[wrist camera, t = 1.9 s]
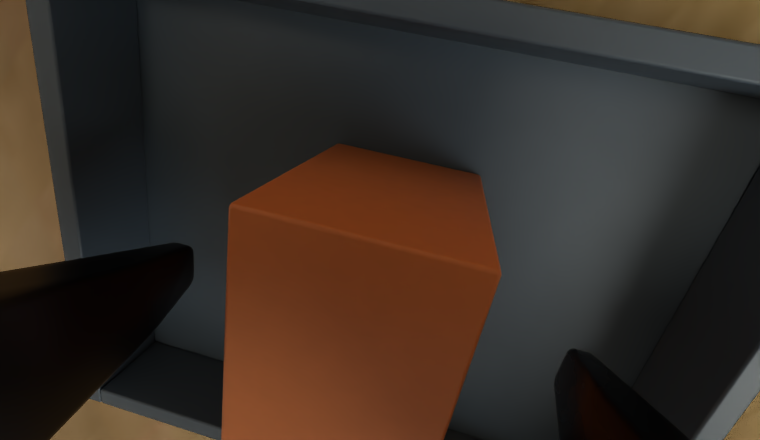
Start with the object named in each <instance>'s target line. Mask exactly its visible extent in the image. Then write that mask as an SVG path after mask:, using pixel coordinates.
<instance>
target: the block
mask: <svg viewBox="0 0 760 440" xmlns="http://www.w3.org/2000/svg"><path fill="white" fill-rule="evenodd" d="M501 275H502V274H501V268H500V263H499V259H498V254H497V250H496V245H495V241H494V236H493V231H492V227H491V222H490V218H489V213H488V209H487V204H486V199H485V195H484V190H483V186H482V181H481V177H480V175H477V174H473V173H469V172H464V171H460V170H455V169H451V168H446V167H442V166H437V165H433V164H428V163H424V162H420V161H415V160H411V159H406V158H402V157H397V156H393V155H388V154H384V153H380V152H375V151H371V150H366V149H362V148H357V147H353V146H348V145H344V144H336V145H334V146H333V147H331V148H329V149H327V150H325V151H324V152H322V153H320V154H318V155H316V156H315V157H313V158H311V159H309V160H307V161H306V162H304V163H302V164H300V165H298V166H297V167H295V168H293V169H291V170H289V171H288V172H286V173H284V174H282V175H280V176H279V177H277V178H275V179H273V180H272V181H270V182H268V183H266V184H264V185H263V186H261V187H259V188H257V189H255V190H254V191H252V192H250V193H248V194H246V195H245V196H243V197H241V198H239V199H237V200H236V201H234V202H232V203H231V204H230V206H229V214H228V245H227V276H226V307H225V337H224V368H223V399H222V429H221V440H444V438H445V435H446V432H447V429H448V426H449V423H450V421H451V418H452V415H453V412H454V409H455V406H456V403H457V401H458V398H459V395H460V392H461V389H462V386H463V384H464V381H465V378H466V375H467V372H468V369H469V366H470V364H471V361H472V358H473V355H474V352H475V349H476V346H477V344H478V341H479V338H480V335H481V332H482V329H483V326H484V324H485V321H486V318H487V315H488V312H489V309H490V307H491V304H492V301H493V298H494V295H495V292H496V289H497V287H498V284H499V281H500V278H501Z"/></svg>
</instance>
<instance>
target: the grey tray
mask: <svg viewBox="0 0 760 440" xmlns="http://www.w3.org/2000/svg"><path fill="white" fill-rule="evenodd" d="M26 7H27V13H28V20H29V26H30V33H31V39H32V46H33V53H34V59H35V66H36V72H37V79H38V86H39V92H40V99H41V105H42V112H43V119H44V125H45V132H46V138H47V145H48V152H49V158H50V165H51V171H52V178H53V184H54V191H55V198H56V204H57V211H58V217H59V224H60V231H61V237H62V244H63V250H64V257H65V261H68V260H74V259H79V258H85V257H91V256H97V255H103V254H109V253H115V252H121V251H127V250H132V249H138V248H144V247H150V246H156V245H162V244H168V243H174V242H176V243H181V244H184V245H188V246H191V247H192V249H193V251H194V278H193V281H192V283H191V285H190V287H189V288H188V289H187V290H186V292H185V293H184V294H183V295H182V297H181V298H180V299H179V300H178V302H177V303H176V304H175V305H174V307H173V308H172V309H171V310H170V312H169V313H168V314H167V315H166V317H165V318H164V319H163V321H162V322H161V323H160V324H159V326H158V327H157V328H156V329H155V330H154V331H153V333H152V334H151V335H150V336H149V337H148V338H147V339H146V340H145V341H144V342H143V343H142V345H141V346H140V347H139V348H138V349H137V350H136V351H135V352H134V353H133V354H132V355H131V356H130V357H129V358H128V359H127V360H126V361H125V362H124V363H123V364H122V365H121V366H120V367H119V368H118V369H117V370H116V371H115V372H114V373H113V374H112V375H111V377H110V378H109V379H108V380H107V381H106V382H105V383H104V384H103V385H102V386H101V387H100V388H99V389H98V390H97V391H96V392H95V393H94V394H93V395H92V396H91V397H90V398H89V399H92V400H95V401H98V402H103V403H105V404H108V405H111V406H114V407H117V408H121V409H124V410H127V411H130V412H133V413H136V414H139V415H142V416H145V417H148V418H151V419H154V420H157V421H160V422H164V423H167V424H170V425H173V426H176V427H179V428H182V429H185V430H188V431H191V432H194V433H197V434H200V435H203V436H206V437H210V438H213V439H216V440H221V429H222V399H223V368H224V337H225V307H226V276H227V245H228V214H229V206H230V204H231V203H232V202H234V201H236V200H237V199H239V198H241V197H243V196H245V195H246V194H248V193H250V192H252V191H254V190H255V189H257V188H259V187H261V186H263V185H264V184H266V183H268V182H270V181H272V180H273V179H275V178H277V177H279V176H280V175H282V174H284V173H286V172H288V171H289V170H291V169H293V168H295V167H297V166H298V165H300V164H302V163H304V162H306V161H307V160H309V159H311V158H313V157H315V156H316V155H318V154H320V153H322V152H324V151H325V150H327V149H329V148H331V147H333V146H334V145H336V144H344V145H348V146H353V147H357V148H362V149H366V150H371V151H375V152H380V153H384V154H388V155H393V156H397V157H402V158H406V159H411V160H415V161H420V162H424V163H428V164H433V165H437V166H442V167H446V168H451V169H455V170H460V171H464V172H469V173H473V174H477V175H480V177H481V181H482V186H483V190H484V195H485V199H486V204H487V209H488V213H489V218H490V222H491V227H492V231H493V236H494V241H495V245H496V250H497V254H498V259H499V263H500V268H501V274H502V275H501V278H500V281H499V284H498V287H497V289H496V292H495V295H494V298H493V301H492V304H491V307H490V309H489V312H488V315H487V318H486V321H485V324H484V326H483V329H482V332H481V335H480V338H479V341H478V344H477V346H476V349H475V352H474V355H473V358H472V361H471V364H470V366H469V369H468V372H467V375H466V378H465V381H464V384H463V386H462V389H461V392H460V395H459V398H458V401H457V403H456V406H455V409H454V412H453V415H452V418H451V421H450V423H449V426H448V429H447V432H446V435H445V438H444V440H559V430H558V421H557V411H556V401H555V391H554V381H555V376H556V374H557V372H558V370H559V368H560V365H561V363H562V361H563V359H564V357H565V355H566V353H567V351H568V350H569V349H571V348H575V349H579V350H582V351H586V352H589V353H591V354H593V355H594V356H595V357H596V358H597V359H598V360H600V361H601V362H602V363H603V364H604V365H605V366H607V367H608V368H609V369H610V370H611V371H612V372H613V373H615V374H616V375H617V376H618V377H619V378H620V379H622V380H623V381H624V382H625V383H626V384H627V385H628V386H630V387H631V388H632V389H633V390H634V391H635V392H637V393H638V394H639V395H640V396H641V397H642V398H643V399H645V400H646V401H647V402H648V403H649V404H650V405H652V406H653V407H654V408H655V409H656V410H657V411H658V412H660V413H661V414H662V415H663V416H664V417H665V418H667V419H668V420H669V421H670V422H671V423H672V424H673V425H675V426H676V427H677V428H678V429H679V430H680V431H682V432H683V433H684V434H685V435H686V436H687V437H688V438H690V439H691V440H723V439H724V438H725V437H726V435H727V434H728V433H729V431H730V430H731V429H732V427H733V426H734V425H735V423H736V422H737V421H738V419H739V418H740V417H741V415H742V414H743V413H744V411H745V410H746V409H747V407H748V406H749V405H750V403H751V402H752V401H753V399H754V398H755V397H756V395H757V394H758V393H759V391H760V44H755V43H749V42H743V41H738V40H732V39H726V38H720V37H715V36H709V35H703V34H697V33H691V32H686V31H680V30H674V29H668V28H663V27H657V26H651V25H645V24H639V23H634V22H628V21H622V20H616V19H611V18H605V17H599V16H593V15H587V14H582V13H576V12H570V11H564V10H559V9H553V8H547V7H541V6H535V5H530V4H524V3H518V2H512V1H507V0H26Z"/></svg>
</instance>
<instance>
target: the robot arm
mask: <svg viewBox="0 0 760 440" xmlns="http://www.w3.org/2000/svg"><path fill="white" fill-rule="evenodd" d="M193 278H194V251H193V249H192V247H191V246H188V245H184V244H181V243H176V242H174V243H168V244H162V245H156V246H150V247H144V248H138V249H132V250H127V251H121V252H115V253H109V254H103V255H97V256H91V257H85V258H79V259H74V260H68V261H62V262H56V263H50V264H44V265H38V266H32V267H27V268H21V269H15V270H9V271H3V272H0V440H49V439H50V438H51V437H52V436H53V435H54V434H55V433H56V432H57V431H58V430H59V429H60V428H61V427H62V426H63V425H64V424H65V423H66V422H67V421H68V420H69V419H70V418H71V417H72V416H73V415H74V414H75V413H76V412H77V411H78V410H79V409H80V407H81V406H82V405H83V404H84V403H85V402H86V401H87V400H88V399H89V398H90V397H91V396H92V395H93V394H94V393H95V392H96V391H97V390H98V389H99V388H100V387H101V386H102V385H103V384H104V383H105V382H106V381H107V380H108V379H109V378H110V377H111V375H112V374H113V373H114V372H115V371H116V370H117V369H118V368H119V367H120V366H121V365H122V364H123V363H124V362H125V361H126V360H127V359H128V358H129V357H130V356H131V355H132V354H133V353H134V352H135V351H136V350H137V349H138V348H139V347H140V346H141V345H142V343H143V342H144V341H145V340H146V339H147V338H148V337H149V336H150V335H151V334H152V333H153V331H154V330H155V329H156V328H157V327H158V326H159V324H160V323H161V322H162V321H163V319H164V318H165V317H166V315H167V314H168V313H169V312H170V310H171V309H172V308H173V307H174V305H175V304H176V303H177V302H178V300H179V299H180V298H181V297H182V295H183V294H184V293H185V292H186V290H187V289H188V288H189V287H190V285H191V283H192V281H193ZM554 391H555V401H556V411H557V421H558V430H559V440H691V439H690V438H688V437H687V436H686V435H685V434H684V433H683V432H682V431H680V430H679V429H678V428H677V427H676V426H675V425H673V424H672V423H671V422H670V421H669V420H668V419H667V418H665V417H664V416H663V415H662V414H661V413H660V412H658V411H657V410H656V409H655V408H654V407H653V406H652V405H650V404H649V403H648V402H647V401H646V400H645V399H643V398H642V397H641V396H640V395H639V394H638V393H637V392H635V391H634V390H633V389H632V388H631V387H630V386H628V385H627V384H626V383H625V382H624V381H623V380H622V379H620V378H619V377H618V376H617V375H616V374H615V373H613V372H612V371H611V370H610V369H609V368H608V367H607V366H605V365H604V364H603V363H602V362H601V361H600V360H598V359H597V358H596V357H595V356H594V355H593V354H591V353H589V352H586V351H582V350H579V349H575V348H571V349H569V350H568V351H567V353H566V355H565V357H564V359H563V361H562V363H561V365H560V368H559V370H558V372H557V374H556V376H555V381H554Z"/></svg>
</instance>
